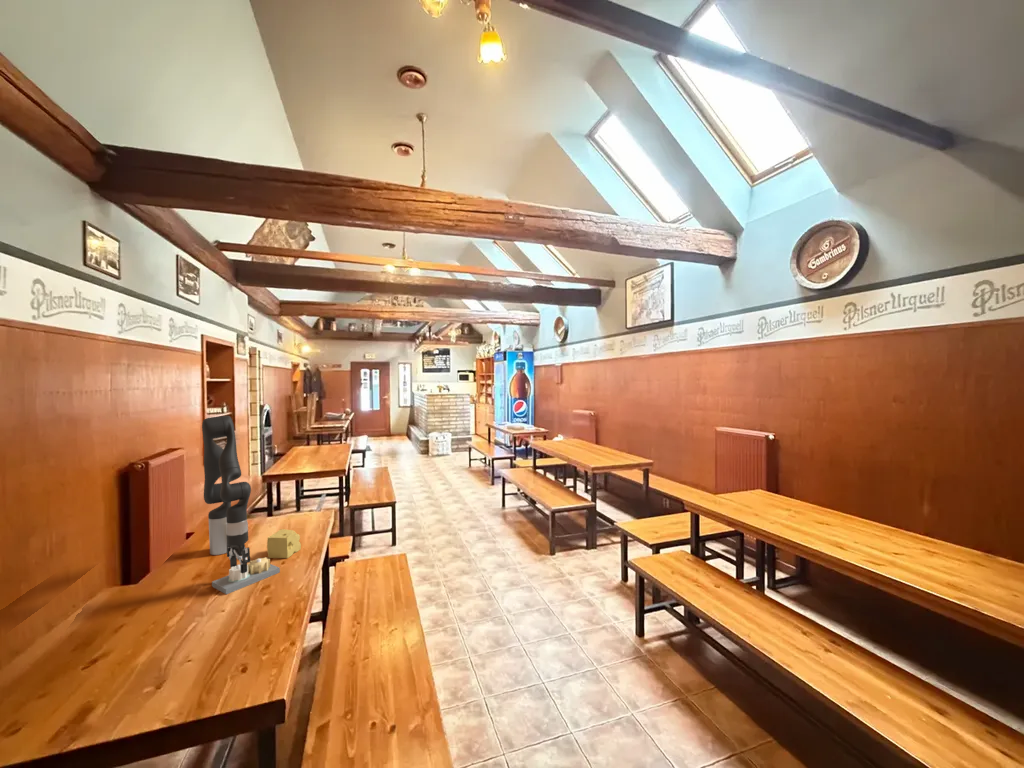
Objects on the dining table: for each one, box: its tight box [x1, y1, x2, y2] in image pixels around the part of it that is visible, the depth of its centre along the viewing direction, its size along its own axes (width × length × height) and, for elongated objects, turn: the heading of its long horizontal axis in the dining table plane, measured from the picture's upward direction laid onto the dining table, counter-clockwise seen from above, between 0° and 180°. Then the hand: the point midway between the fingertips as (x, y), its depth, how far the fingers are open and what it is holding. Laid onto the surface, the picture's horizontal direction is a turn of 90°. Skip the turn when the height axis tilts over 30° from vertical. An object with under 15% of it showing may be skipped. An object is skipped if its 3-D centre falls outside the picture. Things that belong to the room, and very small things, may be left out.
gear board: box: [211, 556, 281, 595], centre depth 177 cm, size 12×21×7 cm, turn 148°
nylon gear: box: [228, 563, 249, 581], centre depth 175 cm, size 6×6×4 cm
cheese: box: [266, 528, 302, 559], centre depth 202 cm, size 10×11×10 cm
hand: (238, 570), depth 175 cm, fingers open, 8 cm apart
